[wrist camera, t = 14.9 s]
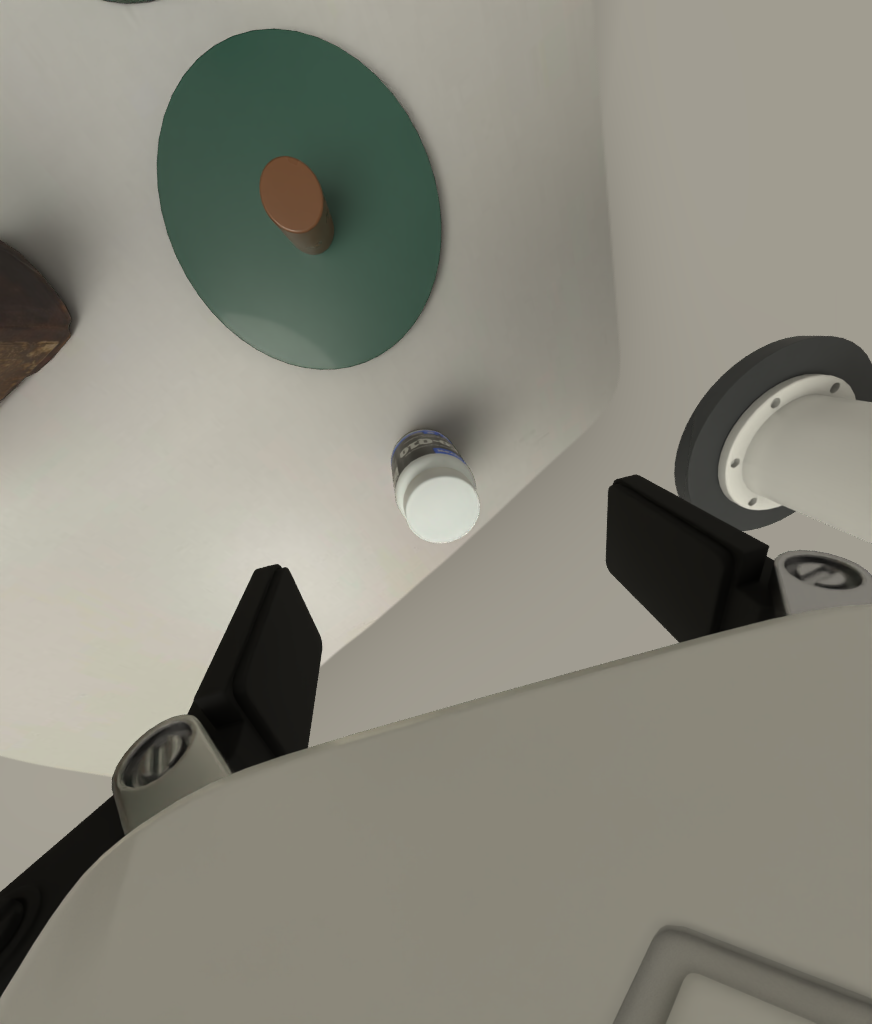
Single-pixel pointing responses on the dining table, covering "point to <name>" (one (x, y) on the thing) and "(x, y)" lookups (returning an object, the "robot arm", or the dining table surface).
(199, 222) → the tin lid
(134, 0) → the tin
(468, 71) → the dining table surface
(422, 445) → the pill bottle
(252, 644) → the robot arm
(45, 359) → the book
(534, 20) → the dining table surface
